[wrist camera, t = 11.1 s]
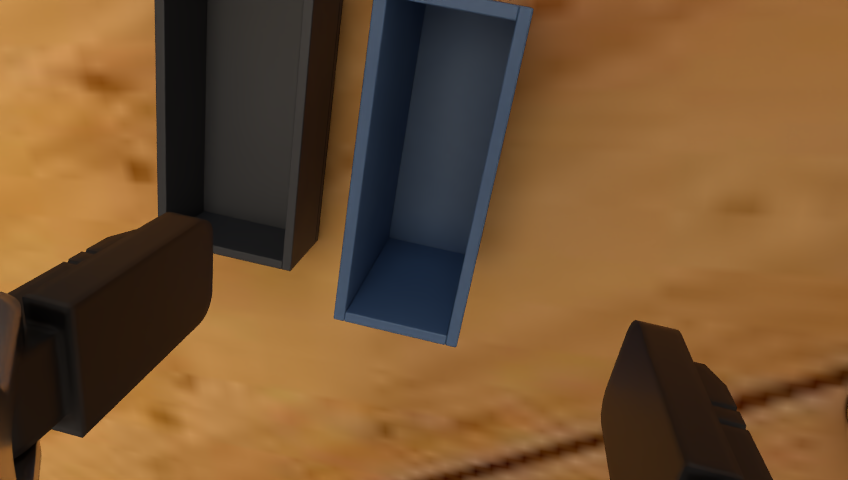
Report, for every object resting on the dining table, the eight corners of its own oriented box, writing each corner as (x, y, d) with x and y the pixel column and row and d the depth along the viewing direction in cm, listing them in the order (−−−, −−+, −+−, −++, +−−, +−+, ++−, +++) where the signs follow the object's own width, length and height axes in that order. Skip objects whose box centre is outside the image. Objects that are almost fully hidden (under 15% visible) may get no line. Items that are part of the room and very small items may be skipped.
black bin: (204, -76, 29) (152, -89, 25) (348, -50, 29) (319, -59, 25) (200, 213, 36) (158, 240, 32) (317, 240, 35) (290, 271, 31)
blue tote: (420, -14, 29) (375, -21, 20) (530, 7, 28) (533, 8, 20) (381, 239, 34) (333, 318, 26) (473, 260, 34) (456, 348, 25)
